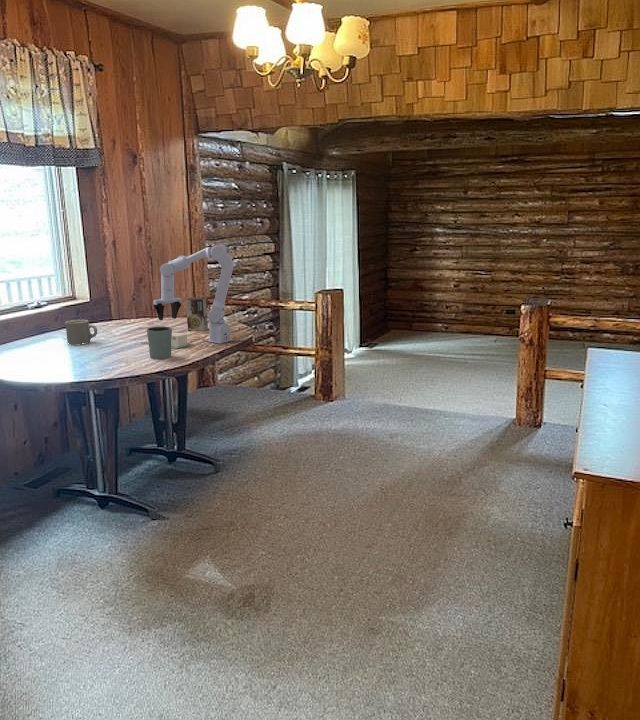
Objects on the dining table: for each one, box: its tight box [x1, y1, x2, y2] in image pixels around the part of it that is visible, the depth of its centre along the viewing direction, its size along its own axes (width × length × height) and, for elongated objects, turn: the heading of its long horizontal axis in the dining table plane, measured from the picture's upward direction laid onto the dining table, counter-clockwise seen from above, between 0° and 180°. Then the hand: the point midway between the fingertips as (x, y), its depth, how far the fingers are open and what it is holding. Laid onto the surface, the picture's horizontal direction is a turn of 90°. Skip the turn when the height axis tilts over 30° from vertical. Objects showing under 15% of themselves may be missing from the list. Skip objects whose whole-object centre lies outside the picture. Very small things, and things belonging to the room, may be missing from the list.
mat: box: [140, 340, 194, 350], centre depth 289 cm, size 24×11×1 cm, turn 51°
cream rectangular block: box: [171, 331, 188, 347], centre depth 285 cm, size 10×5×5 cm, turn 51°
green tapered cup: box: [146, 325, 173, 360], centre depth 262 cm, size 10×10×12 cm
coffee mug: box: [65, 319, 98, 345], centre depth 293 cm, size 13×10×10 cm
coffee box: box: [185, 297, 209, 331], centre depth 321 cm, size 9×6×16 cm
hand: (167, 319), depth 293 cm, fingers open, 7 cm apart
